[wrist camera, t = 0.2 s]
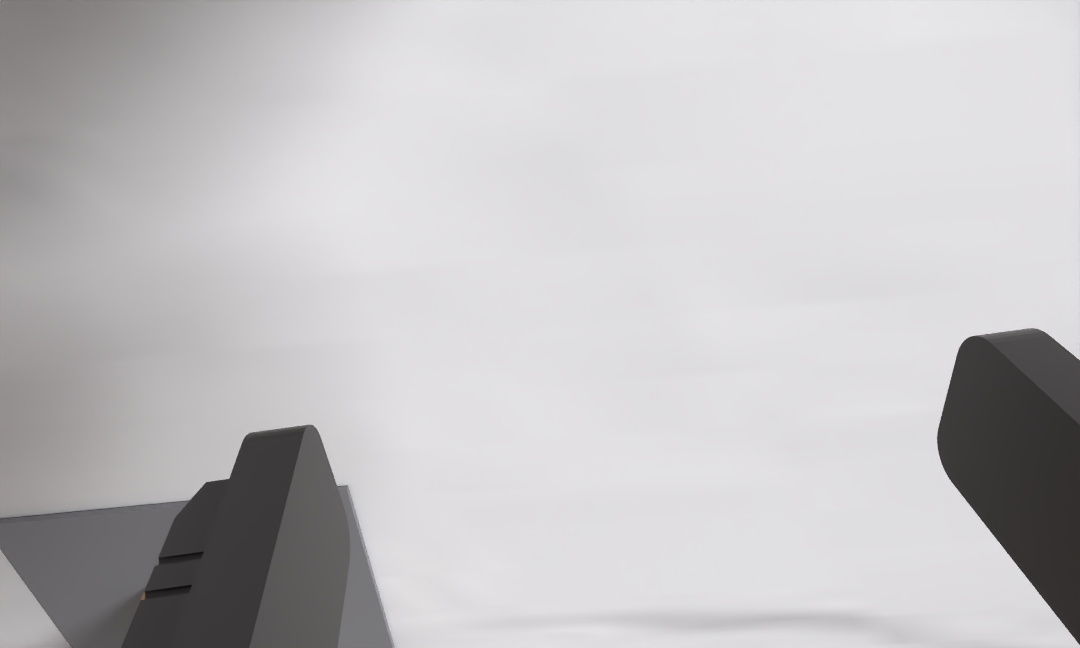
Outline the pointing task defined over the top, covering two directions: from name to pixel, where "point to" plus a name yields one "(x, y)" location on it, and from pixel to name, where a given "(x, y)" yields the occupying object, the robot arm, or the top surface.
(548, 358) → the top surface
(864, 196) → the top surface
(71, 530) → the tile
